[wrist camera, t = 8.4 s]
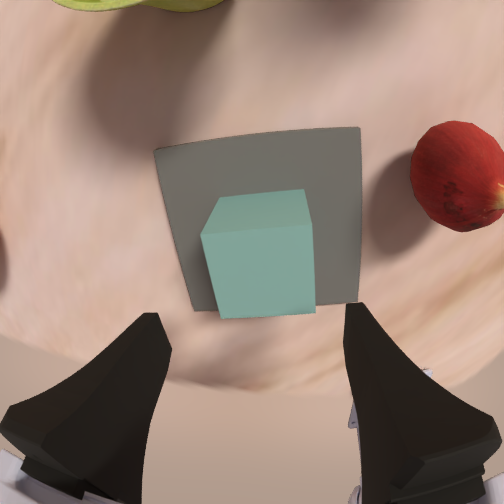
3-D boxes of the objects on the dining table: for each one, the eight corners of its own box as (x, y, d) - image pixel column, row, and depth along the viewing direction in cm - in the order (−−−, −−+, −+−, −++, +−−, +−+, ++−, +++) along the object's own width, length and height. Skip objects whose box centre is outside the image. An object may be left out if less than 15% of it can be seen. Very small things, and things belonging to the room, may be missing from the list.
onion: (447, 213, 18) (510, 278, 11) (378, 184, 18) (432, 246, 11) (478, 137, 15) (559, 174, 8) (409, 98, 15) (487, 112, 8)
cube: (309, 262, 20) (315, 313, 16) (233, 268, 21) (221, 318, 16) (304, 189, 18) (311, 224, 13) (219, 197, 18) (200, 234, 14)
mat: (356, 296, 22) (357, 301, 21) (196, 306, 24) (194, 311, 23) (357, 126, 16) (360, 128, 16) (156, 149, 18) (153, 150, 17)
